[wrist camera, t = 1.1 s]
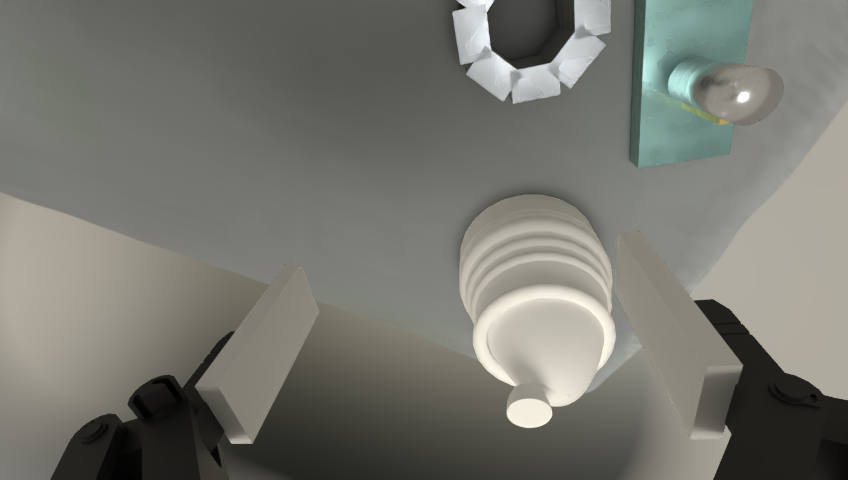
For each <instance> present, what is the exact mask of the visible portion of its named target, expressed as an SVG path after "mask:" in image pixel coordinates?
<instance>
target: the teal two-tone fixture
mask: <svg viewBox="0 0 848 480" xmlns="http://www.w3.org/2000/svg"><path fill="white" fill-rule="evenodd" d="M753 1H754V0H635V24H634V52H633V80H632V107H631V135H630V161H631V162H632V163H633V164H634V165H635V166H636V167H638V168H643V167H649V166H656V165H662V164H669V163H676V162H682V161H689V160H695V159H702V158H708V157H715V156H722V155H728V154H730V147H731V141H732V135H733V128H734V125H740V126H744V125H750V124H753V123H756V122H758V121H760V120H762V119H764V118H765V117H767V116H768V115H769V114H770V113H771V112H772V111H773V110H774V109H775V108H776V107H777V105H778V104H779V102H780V100H781V98H782V95H783V90H784V84H783V80H782V78H781V76H780V75H779V74H778V73H777V72H775V71H773V70H771V69H766V68H761V67H756V66H750V65H745V64H744V58H745V52H746V45H747V39H748V33H749V26H750V20H751V14H752V7H753Z"/></svg>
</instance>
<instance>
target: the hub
mask: <svg viewBox="0 0 848 480" xmlns="http://www.w3.org/2000/svg"><path fill="white" fill-rule="evenodd" d="M457 1H458V2H459V3H460V4H462V5H463V6H464V7H465V9H461V10H457V11H453V12H452V13H453V20H454V26H455V33H456V40H457V46H458V53H459V59H460V65H462V64H467V63H468V64H467V69H466V75H468V76H469V77H470V78H472V79H473V80H474V81H476V82H477V83H478V84H480V85H481V86H483V87H484V88H485V89H487V90H488V91H489V92H491V93H492V94H493V95H495V96H496V97H497V98H499V99H500V100H502V101H504V100H505V98H506V97H507V95H508V94H509V96H510V98H511V100H512V103H513V104H514V103H519V102H525V101H530V100H535V99H540V98H546V97H551V96H556V95H560V81H561V82H562V83H564V84H565V85H566V86H568V87H569V88H571V87H572V86H573V85H574V83H575V82H576V81H577V80H578V79H579V77H580V76H581V75H582V74H583V72H584V71H585V70H586V69H587V67H588V66H589V65H590V64H591V63H592V61H593V60H594V59H595V58H596V56H597V55H598V54H599V53H600V51H601V50H602V49H603V48H604V47H605V45H606V44H604V43H603V42H602V41H601V40H599V39H598V38H597V37H596V35H601V34H606V33H610V32H611V0H555V1H556V23H557V29H556V30H555V32H554V33H553V34H552V36H551V37H550V38H549V40H548V41H547V42H546V44H545V45H544V46H543V48H542V49H541V51H540V52H539V53H538V55H533V56H529V57H524V58H519V59H514V60H508V59H507V58H506V57H504V56H503V55H502V54H500V53H499V52H498V51H497V50H495V49H494V48H493V47H491V46H490V37H489V29H488V20H487V11H488V9H489V8H490V6H491V5H492V3H493V2H494V0H457Z"/></svg>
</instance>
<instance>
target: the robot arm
mask: <svg viewBox="0 0 848 480" xmlns="http://www.w3.org/2000/svg"><path fill="white" fill-rule="evenodd" d="M614 291H615V293H616V295H617V297H618V299H619V301H620V303H621V305H622V307H623V309H624V311H625V313H626V315H627V317H628V319H629V321H630V323H631V325H632V326H633V328H634V330H635V332H636V334H637V336H638V338H639V340H640V342H641V344H642V346H643V348H644V349H645V352H646V354H647V356H648V358H649V360H650V362H651V364H652V365H653V367H654V369H655V371H656V373H657V375H658V377H659V379H660V381H661V383H662V385H663V387H664V389H665V391H666V393H667V395H668V397H669V399H670V401H671V403H672V404H673V407H674V408H675V410H676V412H677V414H678V416H679V418H680V420H681V422H682V424H683V426H684V428H685V430H686V432H687V434H688V436H689V438H690V439H722V436H723V432H724V429H725V425H726V426H727V427H728V429H729V430H730V432H731V434H732V435H731V438H730V440H729V442H728V445H727V447H726V450H725V452H724V455H723V457H722V459H721V462H720V464H719V467H718V469H717V472H716V474H715V477H714V479H713V480H848V400H843V399H838V398H833V397H829V396H825V395H823V394H822V393H821V391H820V390H819V389H817V388H816V387H814V386H813V385H812V384H811V383H809V382H808V381H805V380H803V379H801V378H799V377H797V376H795V375H791V374H787V373H784V371H783V370H782V369H781V368H780V367H779V366H778V364H777V363H776V362H775V361H774V360H773V359H772V357H771V356H770V355H769V354H768V353H767V352H766V351H765V349H763V347H762V346H761V345H760V344H759V343H758V341H757V340H756V339H755V338H754V337H753V336H752V335H750V334H749V331H748V330H747V329H746V328H745V326H744V325H743V324H741V323H740V321H739V320H738V318H737V317H736V316H735V315H734V314H733V313H732V311H731V310H730V309H728V308H726V307H725V306H723V305H721V304H720V303H718V302H716V301H715V300H713V299H711V300H696V301H693V299H692V298H691V297H690V296H689V294H688V293H687V292H686V290H685V289H684V288H683V286H682V285H681V284H680V283H679V281H678V280H677V279H676V277H675V276H674V275H673V273H672V272H671V271H670V270H669V268H668V267H667V266H666V264H665V263H664V262H663V260H662V259H661V258H660V257H659V255H658V254H657V253H656V251H655V250H654V249H653V247H652V246H651V245H650V244H649V242H648V241H647V240H646V238H645V237H644V236H643V234H642V233H641V232H640V231H636V232H626V233H618V247H617V261H616V275H615V289H614ZM318 314H319V310H318V307H317V305H316V302H315V299H314V297H313V294H312V291H311V289H310V286H309V283H308V281H307V278H306V276H305V273H304V270H303V268H302V265H301V263H299V264H289V265H284V267H283V268H282V269H281V271H280V272H279V273H278V275H277V276H276V278H275V279H274V280H273V282H272V283H271V284H270V286H269V287H268V288H267V290H266V291H265V292H264V294H263V295H262V296H261V298H260V299H259V300H258V302H257V303H256V304H255V306H254V307H253V309H252V310H251V311H250V313H249V314H248V315H247V317H246V318H245V319H244V321H243V322H242V323H241V325H240V326H239V327H238V329H237V330H236V331H234V332H230V333H228V334H227V335H226V336H225V337H223V338H222V339H221V340H220V341H219V342H218V343H217V344H216V345H215V347H214V348H213V349H212V351H211V352H210V354H208V356H207V357H206V358H205V360H204V362H203V363H202V364H201V365H200V366H199V367H198V369H197V370H196V371H195V373H194V374H193V375H192V377H191V378H190V379H189V380H188V382H187V383H186V384H185V386H184V387H183V388H181V387H180V385H179V384H178V382H177V381H176V379H175V378H174V376H171V375H163V376H159V377H156V378H154V379H151V380H150V381H148V382H146V383H145V384H143V385H142V386H141V387H139V388H138V389H137V390H136V391H135V392H134V393H133V395H132V396H131V397H130V399H129V402H128V406H129V407H130V408H131V410H132V411H133V412H134V414H135V415H136V416H137V417H138V419H134V420H131V421H128V422H125V423H122V421H121V420H120V419H119V418H118V416H117V415H116V414H106V415H102V416H100V417H98V418H96V419H93V420H91V421H90V422H88V423H87V424H85V425H84V426H83V427H82V428H81V429H80V430H79V431H78V432H77V433H75V434H74V436H73V437H72V439H71V440H70V442H69V444H68V446H67V448H66V450H65V452H64V454H63V456H62V458H61V460H60V462H59V464H58V466H57V468H56V470H55V472H54V474H53V476H52V478H51V480H229V477H228V473H227V468H226V464H225V459H224V455H223V450H222V448H221V446H220V445H219V443H218V442H219V440H220V439H221V437H222V435H223V434H224V433H225V434H226V436H227V437H228V439H229V440H230V442H231V444H234V443H235V444H239V443H241V444H242V443H243V444H244V443H253V441H254V439H255V437H256V435H257V433H258V431H259V430H260V428H261V426H262V424H263V422H264V420H265V418H266V416H267V414H268V412H269V410H270V408H271V406H272V404H273V402H274V400H275V398H276V396H277V394H278V392H279V390H280V388H281V386H282V384H283V382H284V380H285V379H286V377H287V375H288V373H289V371H290V369H291V367H292V365H293V363H294V361H295V359H296V357H297V355H298V353H299V351H300V349H301V347H302V345H303V343H304V341H305V339H306V337H307V335H308V333H309V331H310V330H311V328H312V326H313V324H314V322H315V320H316V318H317V316H318Z"/></svg>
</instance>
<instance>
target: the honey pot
mask: <svg viewBox="0 0 848 480" xmlns="http://www.w3.org/2000/svg"><path fill="white" fill-rule="evenodd" d="M612 283H613V279H612V272H611V264H610V260H609V258H608V256H607V254H606V252H605V250H604V248H603V246H602V245H601V243H600V241H599V239H598V237H597V236H596V234H595V232H594V230H593V228H592V227H591V225H590V223H589V221H588V219H587V218H586V217H585V216H584V215H583V214H582V213H581V212H580V211H579V210H578V209H577V208H576V207H574V206H572V205H570V204H569V203H567V202H565V201H563V200H561V199H559V198H555V197H550V196H546V195H542V194H530V195H518V196H514V197H510V198H506V199H503V200H501V201H499V202H497V203H495V204H493V205H491V206H489V207H487V208H486V209H485V210H484V211H483V212H482V213H481V214H479V215H478V216H477V217H476V218H475V219H474V220H473V222H472V223H471V225H470V226H469V228H468V229H467V231H466V232H465V235H464V238H463V241H462V245H461V250H460V274H459V291H460V295H461V298H462V300H463V303H464V306H465V309H466V311H467V312H468V313H469V315H470V316H471V319H472V321H473V324H474V329H473V347H474V349H475V352H476V355H477V358H478V360H479V361H480V362H481V364H482V365H483V366H484V367H485V369H486V370H487V371H489V372H490V373H491V374H493V375H494V376H495V377H496V378H498V379H499V380H501V381H503V382H506V383H508V384H510V385H512V386H516V387H515V388H514V389H513V390H512V392H511V394H510V396H509V398H508V402H507V416H508V418H509V420H510V421H511V422H512V423H514V424H516V425H518V426H521V427H526V428H534V427H539V426H542V425H544V424H546V423H547V422H548V421H549V420H550V419H551V417H552V409H551V406H565V405H568V404H570V403H572V402H574V401H576V400H577V399H578V398H579V397H580V396H581V395H582V394H583V393H584V392H585V391H586V389H587V388H588V386H589V385H590V383H591V381H592V380H593V378H594V376H595V374H596V372H597V371H598V370H599V369H600V368H601V367H602V366H603V365H604V364H605V363H606V361H607V360H608V358H609V356H610V355H611V353H612V352H613V348H614V344H615V340H616V333H615V326H614V321H613V319H612V317H611V315H610V313H611V308H612V303H611V288H612ZM488 348H489V349H490V351H491V353H492V354H493V356H494V357H495V359H496V360H497V361H498V362H497V361H496V360H495V359H494V357H493V356H492V355H491V353H490V352H489V349H488Z"/></svg>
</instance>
